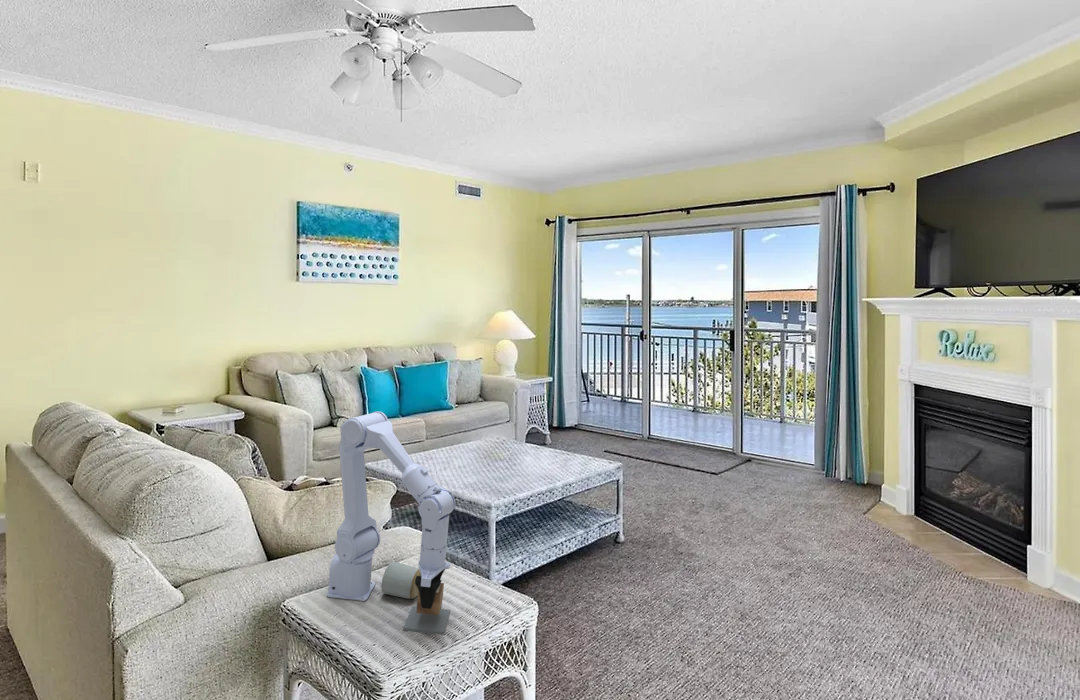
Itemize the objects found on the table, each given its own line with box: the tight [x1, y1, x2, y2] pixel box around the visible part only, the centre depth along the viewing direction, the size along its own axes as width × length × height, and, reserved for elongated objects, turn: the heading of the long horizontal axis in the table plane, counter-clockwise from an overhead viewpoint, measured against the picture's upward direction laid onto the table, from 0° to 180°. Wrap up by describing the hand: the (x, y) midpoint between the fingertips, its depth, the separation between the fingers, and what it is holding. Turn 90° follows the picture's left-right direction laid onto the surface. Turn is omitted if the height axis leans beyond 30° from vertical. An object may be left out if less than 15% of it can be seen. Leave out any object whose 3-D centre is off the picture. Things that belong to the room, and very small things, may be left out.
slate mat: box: [402, 605, 451, 636], centre depth 142 cm, size 9×9×1 cm
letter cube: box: [416, 582, 445, 615], centre depth 142 cm, size 5×5×5 cm
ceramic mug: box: [381, 560, 421, 600], centre depth 153 cm, size 11×8×8 cm
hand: (429, 600), depth 142 cm, fingers closed on letter cube, 5 cm apart
